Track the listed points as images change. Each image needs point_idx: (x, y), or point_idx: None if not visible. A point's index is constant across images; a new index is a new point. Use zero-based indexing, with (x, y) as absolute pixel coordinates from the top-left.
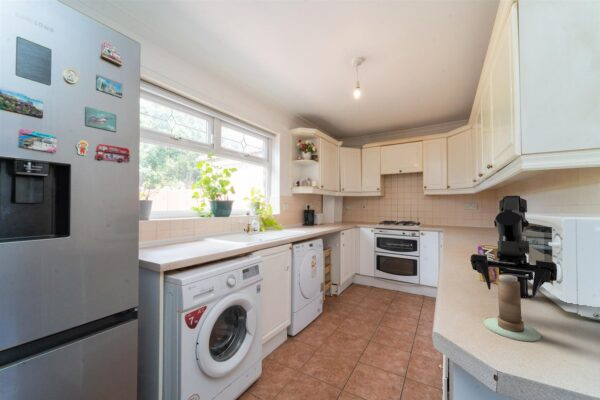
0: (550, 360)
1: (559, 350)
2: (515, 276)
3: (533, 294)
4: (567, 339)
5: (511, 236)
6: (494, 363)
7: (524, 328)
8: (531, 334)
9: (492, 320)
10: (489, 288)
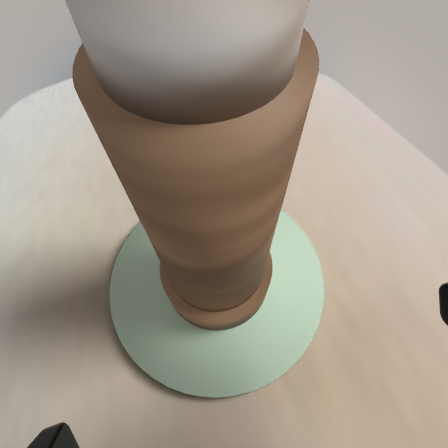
0: (72, 163)
1: (52, 249)
2: (101, 32)
3: (49, 430)
4: (20, 405)
5: None
6: None
7: (175, 323)
8: (138, 279)
9: (299, 285)
10: (442, 294)
